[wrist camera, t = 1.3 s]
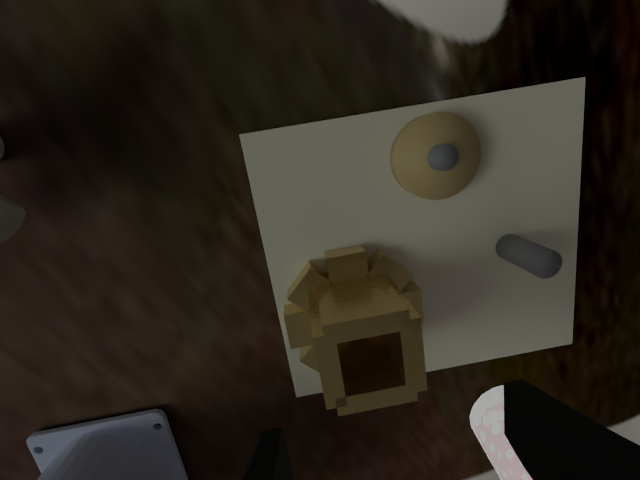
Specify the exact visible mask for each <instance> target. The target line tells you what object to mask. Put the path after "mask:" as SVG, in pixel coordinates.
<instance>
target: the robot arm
mask: <svg viewBox="0 0 640 480" xmlns="http://www.w3.org/2000/svg"><path fill="white" fill-rule="evenodd" d="M156 423H159V424H161V425H157V424H156ZM504 434H505V436H506V438H507V439H508V441H509V443H510V445H511V446H512V448H513V450H514V452H515V453H516V455H517V457H518V458H519V460H520V461H521V463H522V465H523V466H524V468H525V469H526V471H527V472H528V474H529V475H530V476H531V478H532V479H533V480H640V446H639V445H637V444H636V443H634V442H632V441H630V440H628V439H626V438H624V437H622V436H620V435H618V434H617V433H615V432H613V431H611V430H609V429H607V428H605V427H604V426H602V425H600V424H598V423H596V422H595V421H593V420H591V419H589V418H588V417H586V416H584V415H582V414H581V413H579V412H577V411H575V410H574V409H572V408H570V407H569V406H567V405H565V404H563V403H562V402H560V401H558V400H557V399H555V398H553V397H552V396H550V395H548V394H546V393H545V392H543V391H541V390H540V389H538V388H536V387H535V386H533V385H531V384H529V383H527V382H526V381H524V380H517V381H512V382H507V383H504ZM27 446H28V448H29V450H30V452H31V454H32V455H33V457H34V459H35V461H36V463H37V465H38V467H39V469H40V471H41V473H42V474H41V475H40V477H39V478H38V479H37V480H188V477H187V474H186V471H185V468H184V465H183V463H182V460H181V457H180V454H179V451H178V448H177V446H176V443H175V440H174V437H173V434H172V431H171V429H170V426H169V423H168V420H167V417H166V414H165V413H164V411H162V410H160V409H152V410H147V411H142V412H137V413H132V414H126V415H121V416H116V417H111V418H106V419H101V420H95V421H90V422H85V423H80V424H75V425H70V426H64V427H59V428H54V429H49V430H44V431H39V432H35V433H33V434H32V435H31V436H30V437H29V438H28V439H27ZM242 480H293V474H292V469H291V465H290V461H289V457H288V453H287V449H286V444H285V440H284V436H283V432H282V428H281V427H280V428H275V429H270V430H265V431H262V432H261V433H260V435H259V437H258V440H257V443H256V446H255V448H254V451H253V454H252V456H251V459H250V461H249V464H248V466H247V469H246V471H245V474H244V476H243V478H242Z"/></svg>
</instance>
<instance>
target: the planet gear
mask: <svg viewBox="0 0 640 480" xmlns="http://www.w3.org/2000/svg"><path fill="white" fill-rule="evenodd" d="M324 257H325V263H326V269H327V272H326V271H324V270H323V269H321V268H320V267H318V266H317V265H315V264H314V263H312V262H311V261H308V262H307V264H306V265H305V266H304V268H303V269H302V271H301V272H300V273H299V275H298V276H297V277H296V279H295V280H294V281H293V283H292V284H291V286H290V287H289V288H288V290H287V300H289V301H291V302H292V304H287V305H284V315H283V316H284V320H285V325H286V330H287V334H288V339H289V344H290V348H291V349H296V348H300V362H301V363H303V364H305V365H307V366H308V367H310V368H312V369H314V370H315V371H317V372H319V374H320V379H321V384H322V389H323V394H324V400H325V405H326V410H328V409H334V408H337V411H338V416H343V415H348V414H353V413H358V412H363V411H368V410H373V409H378V408H383V407H388V406H393V405H398V404H403V403H408V402H414V401H418V395H417V392H420V391H425V390H427V379H426V368H425V357H424V345H423V334H422V324H424V314H423V303H422V291H421V289H420V288H419V287H418V286H417V284H416V283H415V282H414V281H411V282H409V281H410V280H411V278H412V277H413V275H412V274H411V273H410V272H409V271H408V270H407V269H406V268H405V267H404V266H402V265H401V264H399V263H398V262H396V261H395V260H394V259H392V258H391V257H389V256H388V255H386V254H385V253H384V252H382V251H381V250H379V249H378V248H377V249H376V250H375V252H374V253H373V254H372V256H371V257H370V258H369V259H368V261H367V257H366V251H365V250H364V248H363V247H362V245H356V246H351V247H345V248H340V249H334V250H329V251H324Z"/></svg>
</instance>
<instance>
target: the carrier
mask: <svg viewBox="0 0 640 480" xmlns="http://www.w3.org/2000/svg"><path fill="white" fill-rule="evenodd" d="M585 78H586V77H582V78H576V79H570V80H564V81H558V82H552V83H546V84H540V85H534V86H528V87H522V88H516V89H510V90H504V91H498V92H492V93H486V94H480V95H474V96H468V97H462V98H456V99H450V100H444V101H438V102H432V103H426V104H420V105H414V106H408V107H402V108H396V109H390V110H384V111H378V112H372V113H366V114H360V115H354V116H348V117H342V118H336V119H330V120H324V121H318V122H312V123H306V124H300V125H294V126H288V127H282V128H276V129H270V130H264V131H258V132H252V133H246V134H240V135H239V136H240V140H241V145H242V149H243V154H244V159H245V163H246V168H247V172H248V177H249V182H250V186H251V191H252V195H253V200H254V205H255V209H256V214H257V218H258V223H259V228H260V232H261V237H262V241H263V246H264V250H265V255H266V260H267V264H268V269H269V273H270V278H271V283H272V287H273V292H274V296H275V301H276V306H277V310H278V315H279V319H280V324H281V329H282V333H283V338H284V342H285V347H286V352H287V356H288V361H289V365H290V370H291V374H292V379H293V384H294V388H295V393H296V397H301V396H306V395H311V394H316V393H321V392H323V389H322V384H321V379H320V374H319V372H317V371H315V370H314V369H312V368H310V367H308V366H307V365H305V364H303V363H301V362H300V348H296V349H291V348H290V344H289V339H288V334H287V330H286V325H285V320H284V316H283V315H284V305H287V304H292V302H291V301H289V300H287V290H288V288H289V287H290V286H291V284H292V283H293V281H294V280H295V279H296V277H297V276H298V275H299V273H300V272H301V271H302V269H303V268H304V266H305V265H306V264H307V262H308V261H311V262H312V263H314V264H315V265H317V266H318V267H320V268H321V269H323V270H324V271H326V272H327V269H326V263H325V257H324V251H329V250H334V249H340V248H345V247H351V246H356V245H362V247H363V248H364V250H365V251H366V257H367V261H368V259H369V258H370V257H371V256H372V254H373V253H374V252H375V250H376V249H377V248H378V249H379V250H381V251H382V252H384V253H385V254H386V255H388V256H389V257H391V258H392V259H394V260H395V261H396V262H398V263H399V264H401V265H402V266H404V267H405V268H406V269H407V270H408V271H409V272H410V273H411V274H412V275H413V277H412V278H411V280H410V281H409V282H411V281H414V282H415V283H416V284H417V286H418V287H419V288H420V289H421V291H422V303H423V314H424V324H422V334H423V345H424V357H425V368H426V372H429V371H434V370H439V369H444V368H449V367H454V366H460V365H465V364H470V363H475V362H480V361H485V360H490V359H495V358H500V357H506V356H511V355H516V354H521V353H526V352H531V351H536V350H541V349H546V348H552V347H557V346H562V345H567V344H572V339H573V319H574V299H575V278H576V258H577V238H578V218H579V198H580V178H581V158H582V138H583V118H584V98H585Z"/></svg>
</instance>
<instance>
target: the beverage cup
mask: <svg viewBox="0 0 640 480" xmlns="http://www.w3.org/2000/svg"><path fill="white" fill-rule="evenodd" d="M470 423H471V428H472V429H473V431H474V433H475V435H476V437H477V438H478V440H479V442H480V444H481V446H482V447H483V449H484V451H485V453H486V454H487V456H488V458H489V460H490V462H491V463H492V465H493V467H494V469H495V471H496V472H497V474H498V476H499V477H500V480H533V479H532V478H531V476H530V475H529V474H528V472H527V471H526V469H525V468H524V466H523V465H522V463H521V461H520V460H519V458H518V457H517V455H516V453H515V452H514V450H513V448H512V446H511V445H510V443H509V441H508V439H507V438H506V436H505V434H504V385H501V386H497V387H494V388H492V389H490V390H489V391H487V392H485V393H484V394H482V395H481V396H480V397H479V399H478V400H477V401H476V402H475V404H474V405H473V407H472V410H471V414H470Z"/></svg>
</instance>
